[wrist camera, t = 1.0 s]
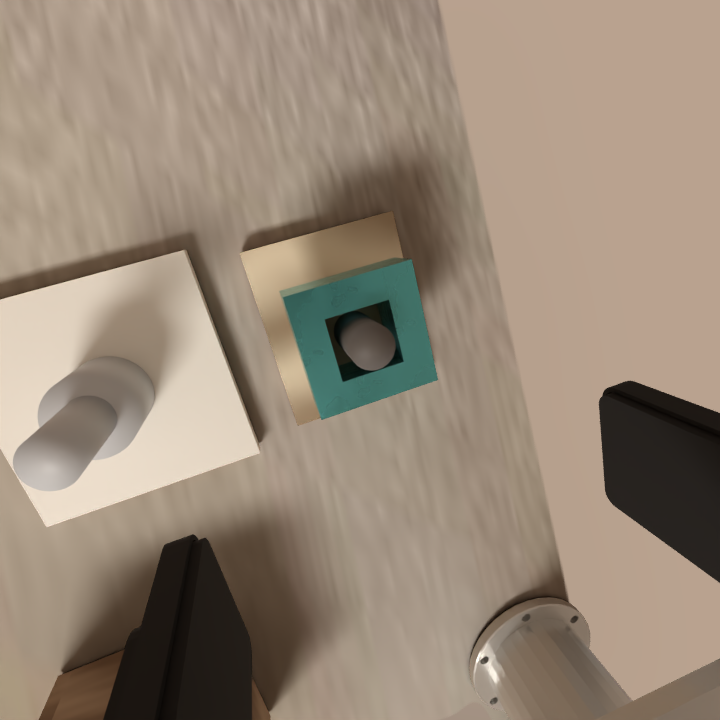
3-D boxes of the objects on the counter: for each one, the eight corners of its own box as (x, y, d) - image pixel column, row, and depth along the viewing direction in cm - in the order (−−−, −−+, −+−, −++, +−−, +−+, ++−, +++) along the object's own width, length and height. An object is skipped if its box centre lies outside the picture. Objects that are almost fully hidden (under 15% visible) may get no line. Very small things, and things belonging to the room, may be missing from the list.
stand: (425, 376, 33) (481, 419, 25) (296, 420, 31) (312, 481, 23) (388, 211, 29) (440, 200, 21) (239, 252, 28) (235, 256, 20)
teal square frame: (418, 365, 28) (437, 379, 25) (314, 401, 27) (321, 419, 24) (394, 257, 26) (411, 259, 23) (279, 291, 25) (282, 297, 22)
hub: (259, 446, 31) (263, 534, 22) (53, 517, 29) (-42, 650, 20) (186, 249, 27) (151, 253, 17) (-63, 316, 25) (-257, 362, 15)
